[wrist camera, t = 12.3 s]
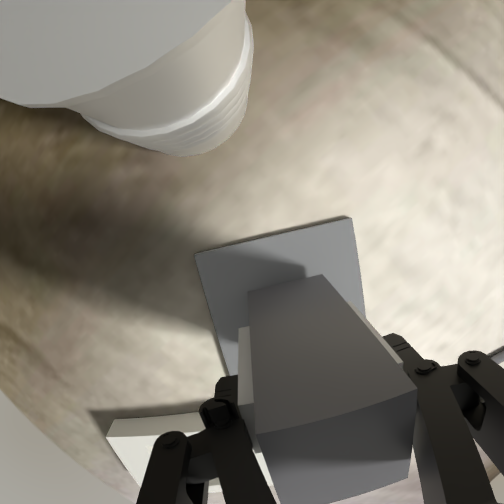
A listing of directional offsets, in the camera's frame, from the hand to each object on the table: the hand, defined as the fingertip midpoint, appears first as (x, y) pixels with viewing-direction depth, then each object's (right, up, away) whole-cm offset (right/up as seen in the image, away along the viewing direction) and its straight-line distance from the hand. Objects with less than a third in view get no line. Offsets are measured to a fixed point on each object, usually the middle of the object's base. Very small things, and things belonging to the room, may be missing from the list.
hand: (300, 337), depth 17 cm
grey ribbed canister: (-6, +14, +2) cm, 15 cm away
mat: (0, +1, +4) cm, 4 cm away
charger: (0, +1, +3) cm, 3 cm away
